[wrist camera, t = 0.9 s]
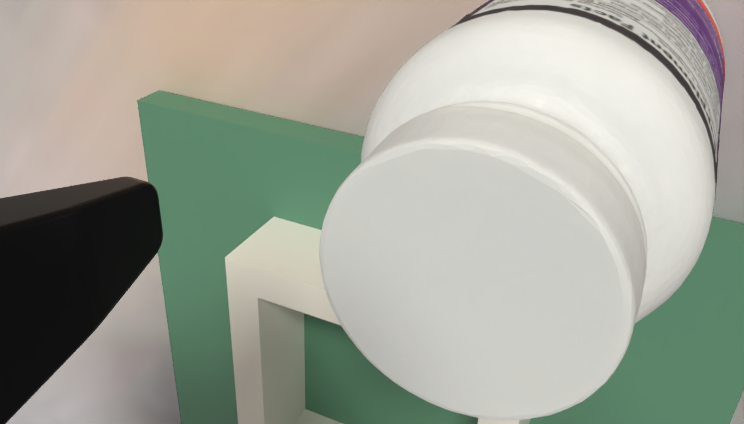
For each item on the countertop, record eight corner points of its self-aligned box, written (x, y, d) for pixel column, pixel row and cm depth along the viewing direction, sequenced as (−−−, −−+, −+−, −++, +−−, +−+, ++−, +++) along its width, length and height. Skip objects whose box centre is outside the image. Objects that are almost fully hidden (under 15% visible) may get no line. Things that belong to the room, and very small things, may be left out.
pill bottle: (578, 215, 18) (450, 509, 10) (440, 54, 18) (202, 235, 10) (784, 87, 15) (821, 378, 7) (620, -114, 14) (471, -36, 7)
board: (795, 235, 16) (804, 323, 13) (649, 600, 23) (635, 707, 20) (159, 90, 22) (74, 129, 20) (197, 411, 29) (139, 473, 27)
